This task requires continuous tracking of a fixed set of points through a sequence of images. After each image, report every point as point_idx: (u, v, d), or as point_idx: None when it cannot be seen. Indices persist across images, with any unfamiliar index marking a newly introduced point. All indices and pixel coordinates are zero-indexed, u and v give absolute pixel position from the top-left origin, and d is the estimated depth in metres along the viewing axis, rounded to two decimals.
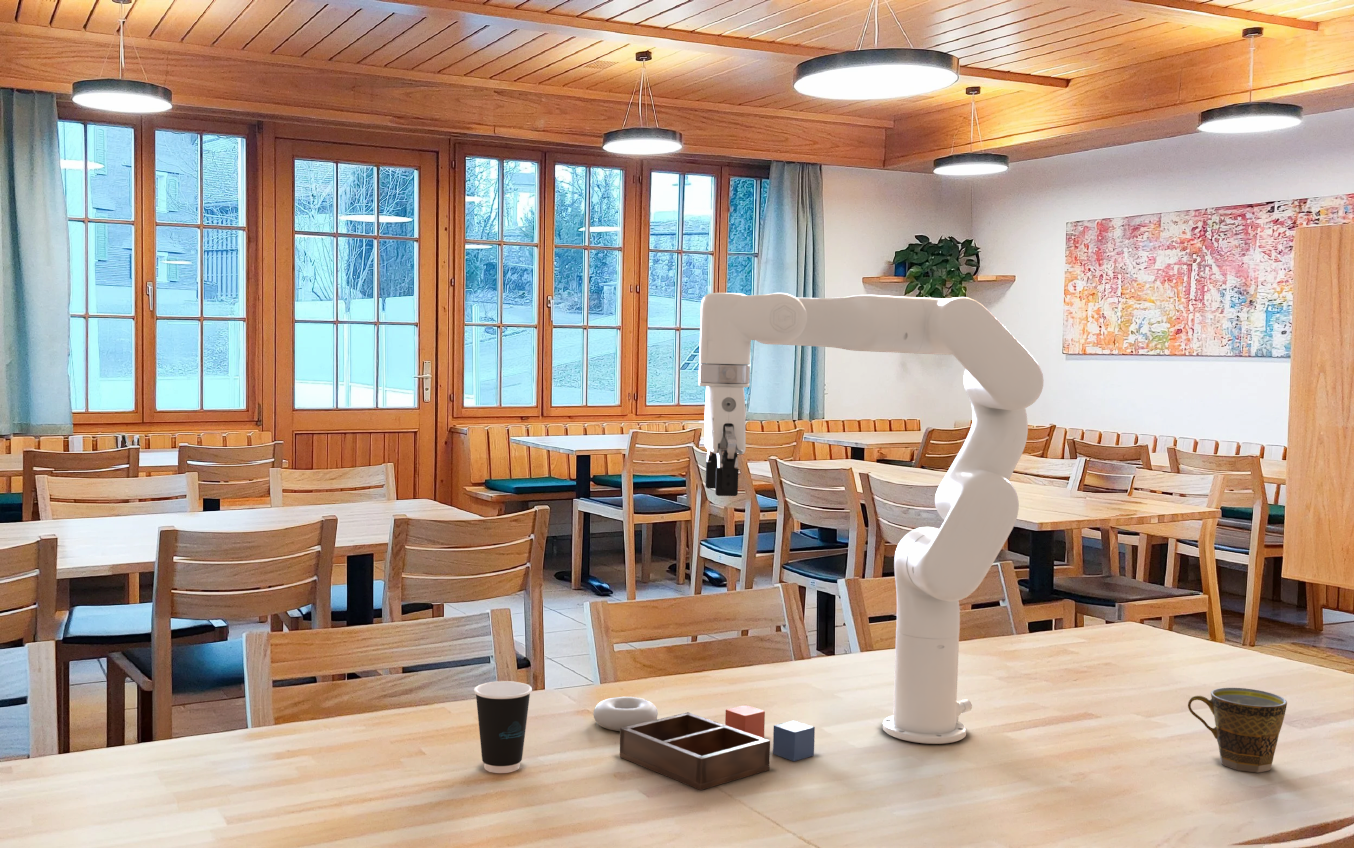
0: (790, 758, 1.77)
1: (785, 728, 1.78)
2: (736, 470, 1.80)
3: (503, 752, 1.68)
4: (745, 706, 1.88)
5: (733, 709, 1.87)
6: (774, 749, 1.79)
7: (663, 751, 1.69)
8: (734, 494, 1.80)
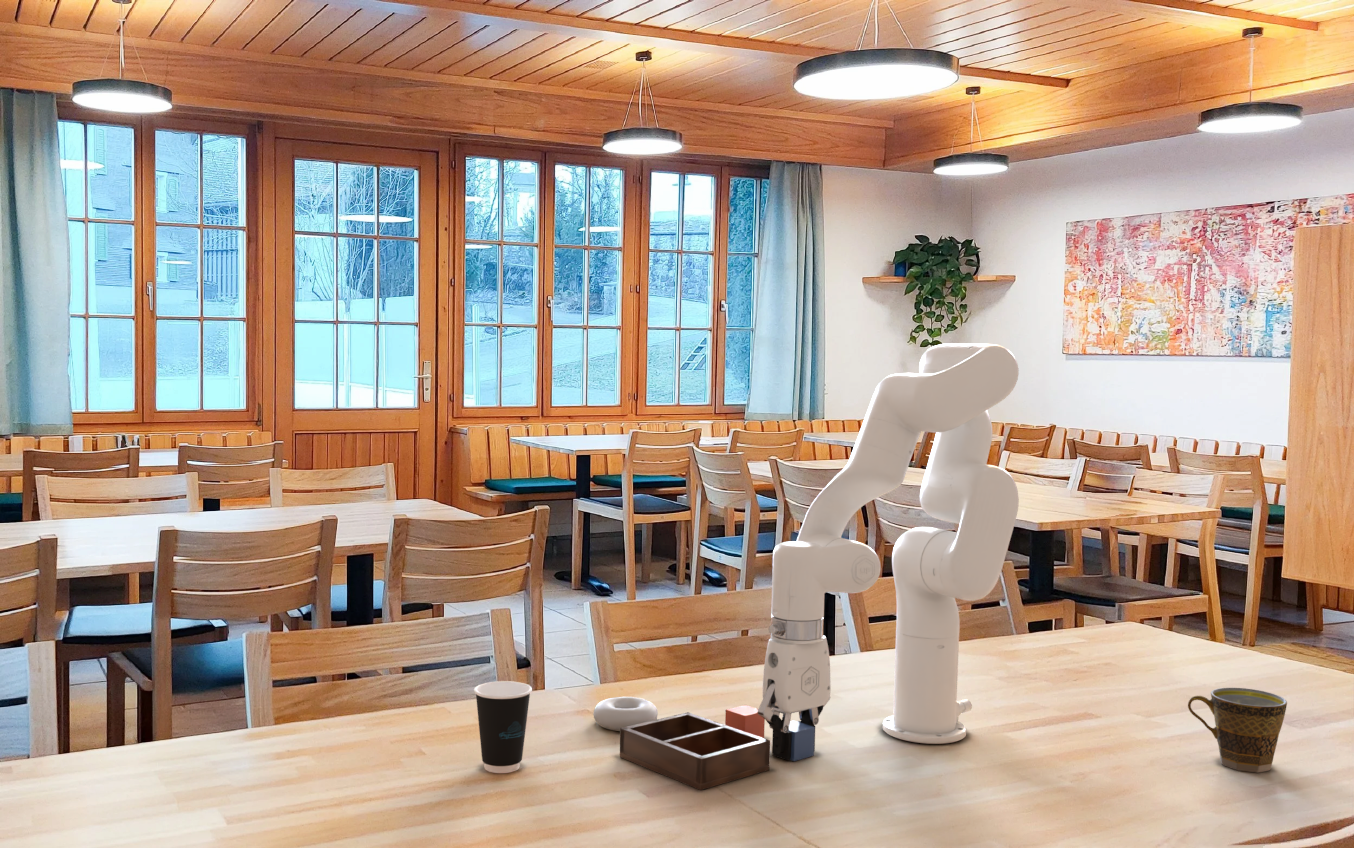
0: (790, 758, 1.77)
1: None
2: (787, 734, 1.76)
3: (503, 752, 1.68)
4: (745, 706, 1.88)
5: (733, 709, 1.87)
6: None
7: (663, 751, 1.69)
8: (786, 758, 1.77)
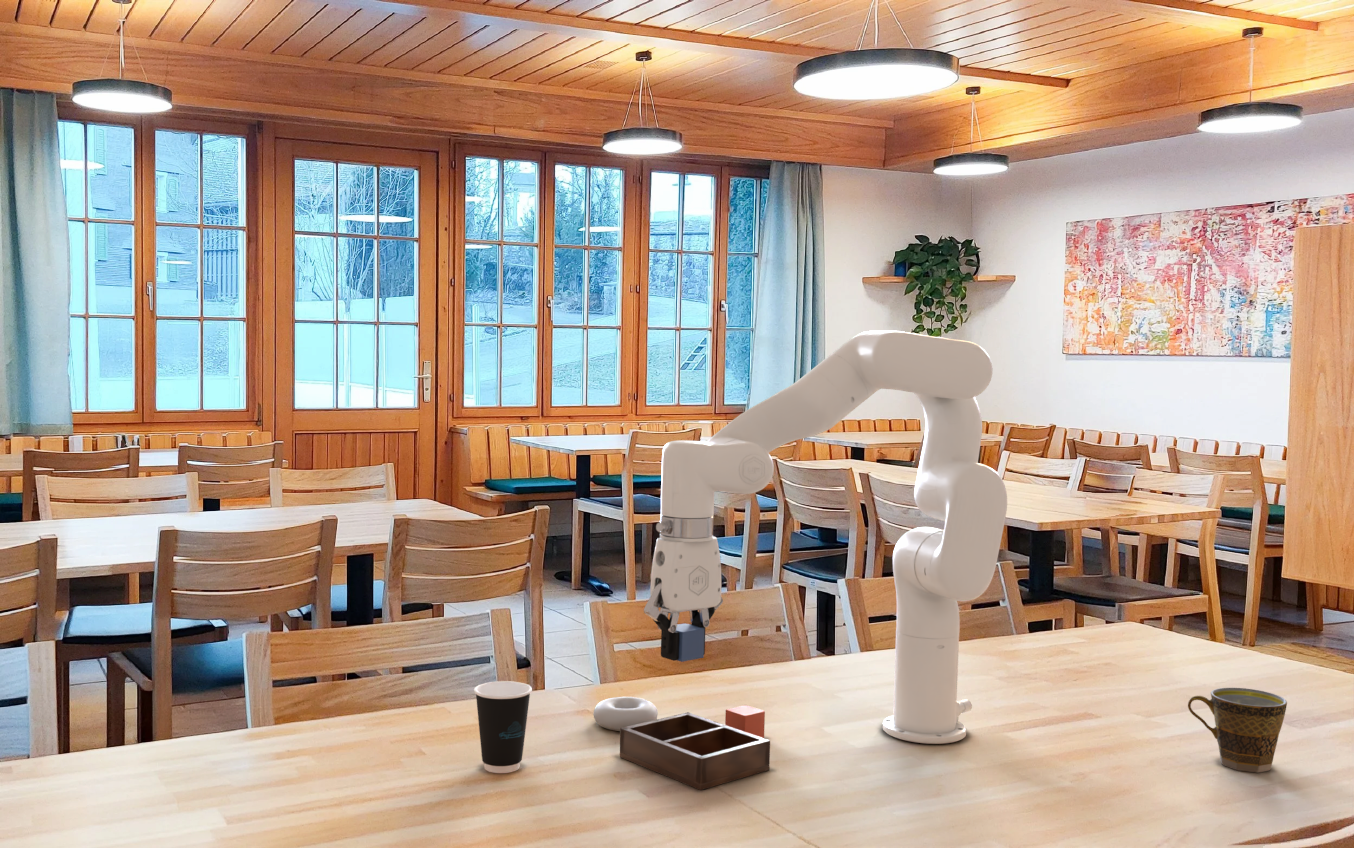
0: (678, 659, 1.74)
1: None
2: (675, 634, 1.74)
3: (503, 752, 1.68)
4: (745, 706, 1.88)
5: (733, 709, 1.87)
6: None
7: (663, 751, 1.69)
8: (673, 658, 1.74)
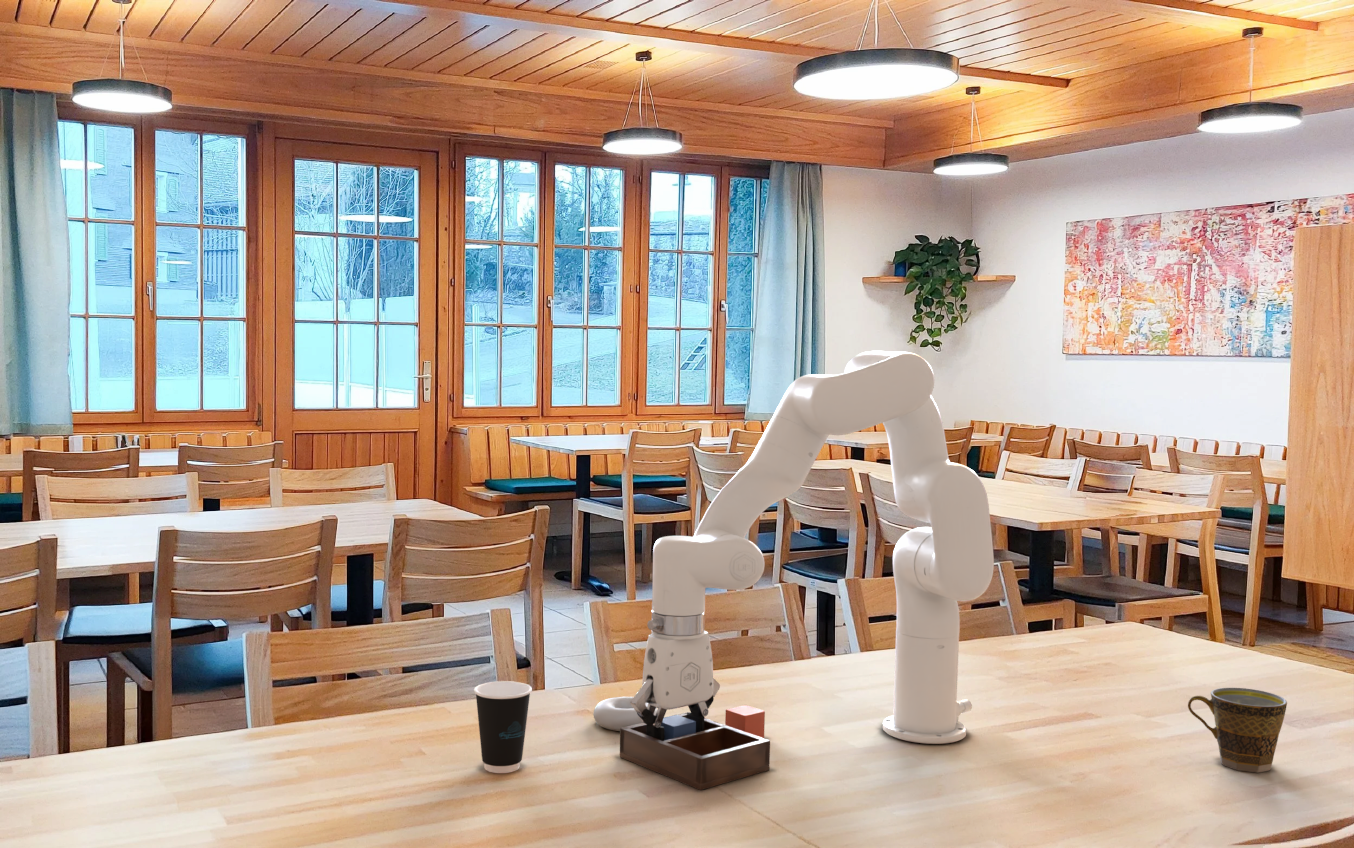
0: None
1: (665, 723, 1.76)
2: (660, 729, 1.73)
3: (503, 752, 1.68)
4: (745, 706, 1.88)
5: (733, 709, 1.87)
6: None
7: (663, 751, 1.69)
8: None
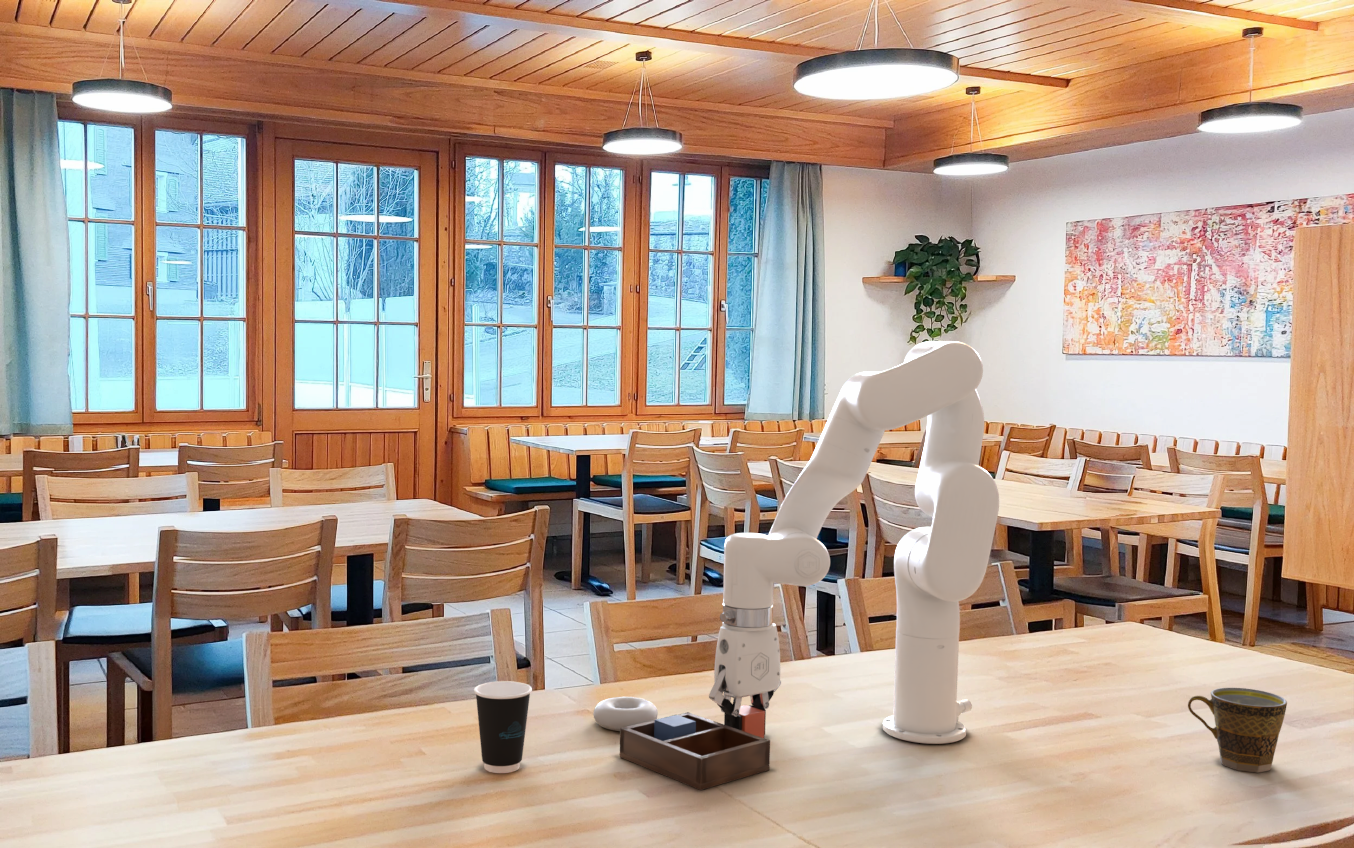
0: None
1: (665, 723, 1.76)
2: (738, 717, 1.84)
3: (503, 752, 1.68)
4: (745, 706, 1.88)
5: None
6: None
7: (663, 751, 1.69)
8: None
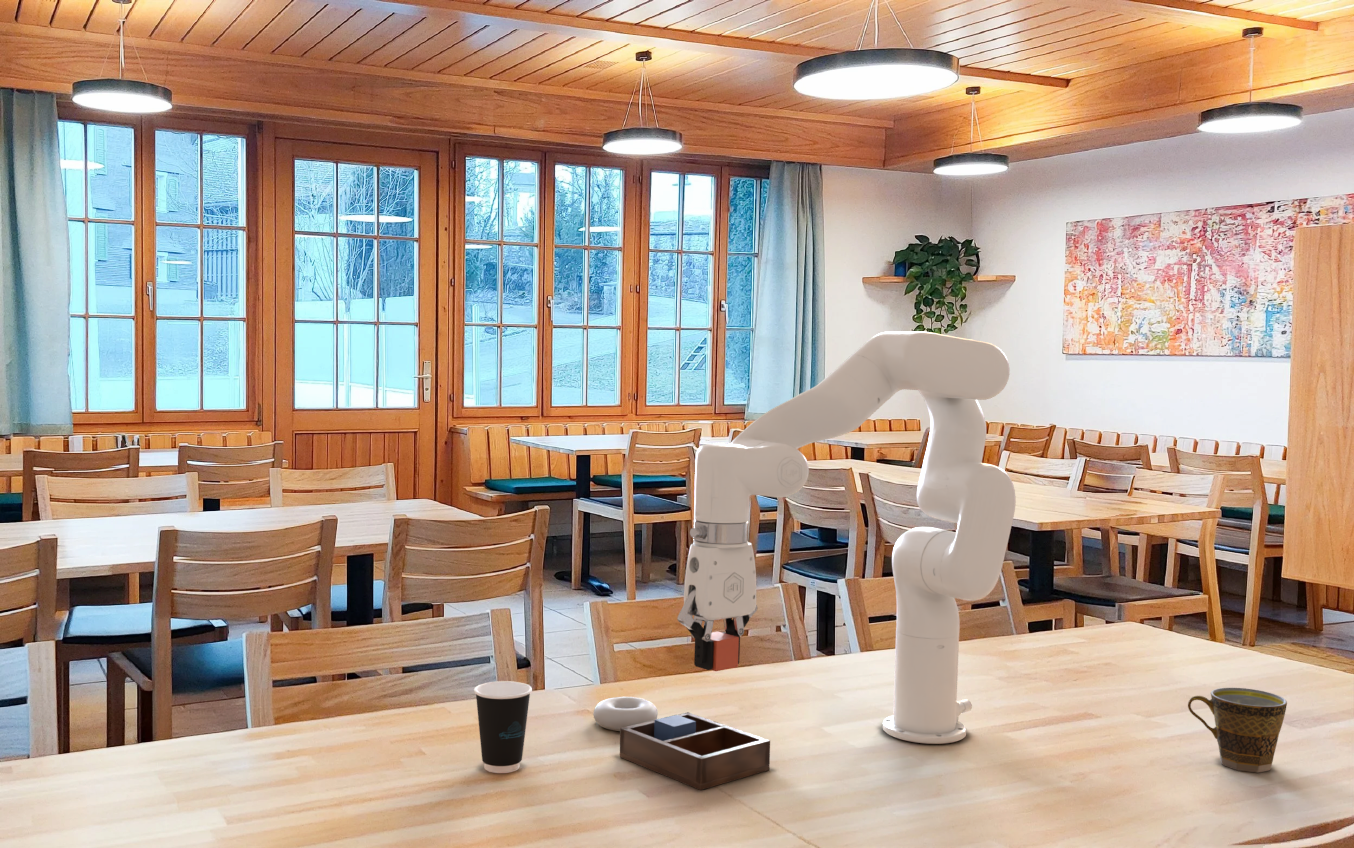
0: None
1: (665, 723, 1.76)
2: (709, 643, 1.69)
3: (503, 752, 1.68)
4: (718, 632, 1.73)
5: None
6: None
7: (663, 751, 1.69)
8: (707, 668, 1.69)
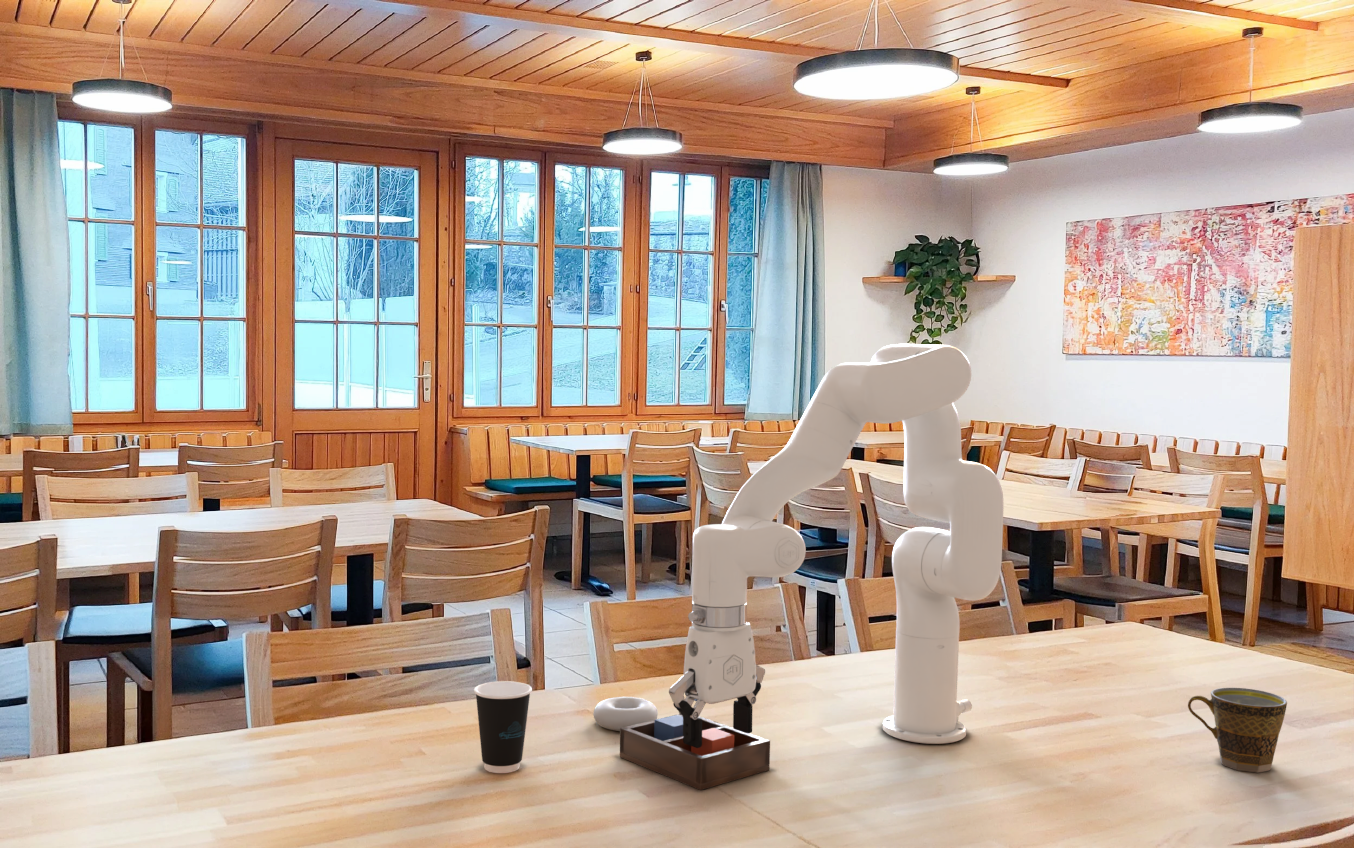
0: None
1: (665, 723, 1.76)
2: (697, 721, 1.67)
3: (503, 752, 1.68)
4: (713, 729, 1.73)
5: None
6: None
7: (663, 751, 1.69)
8: (696, 746, 1.67)
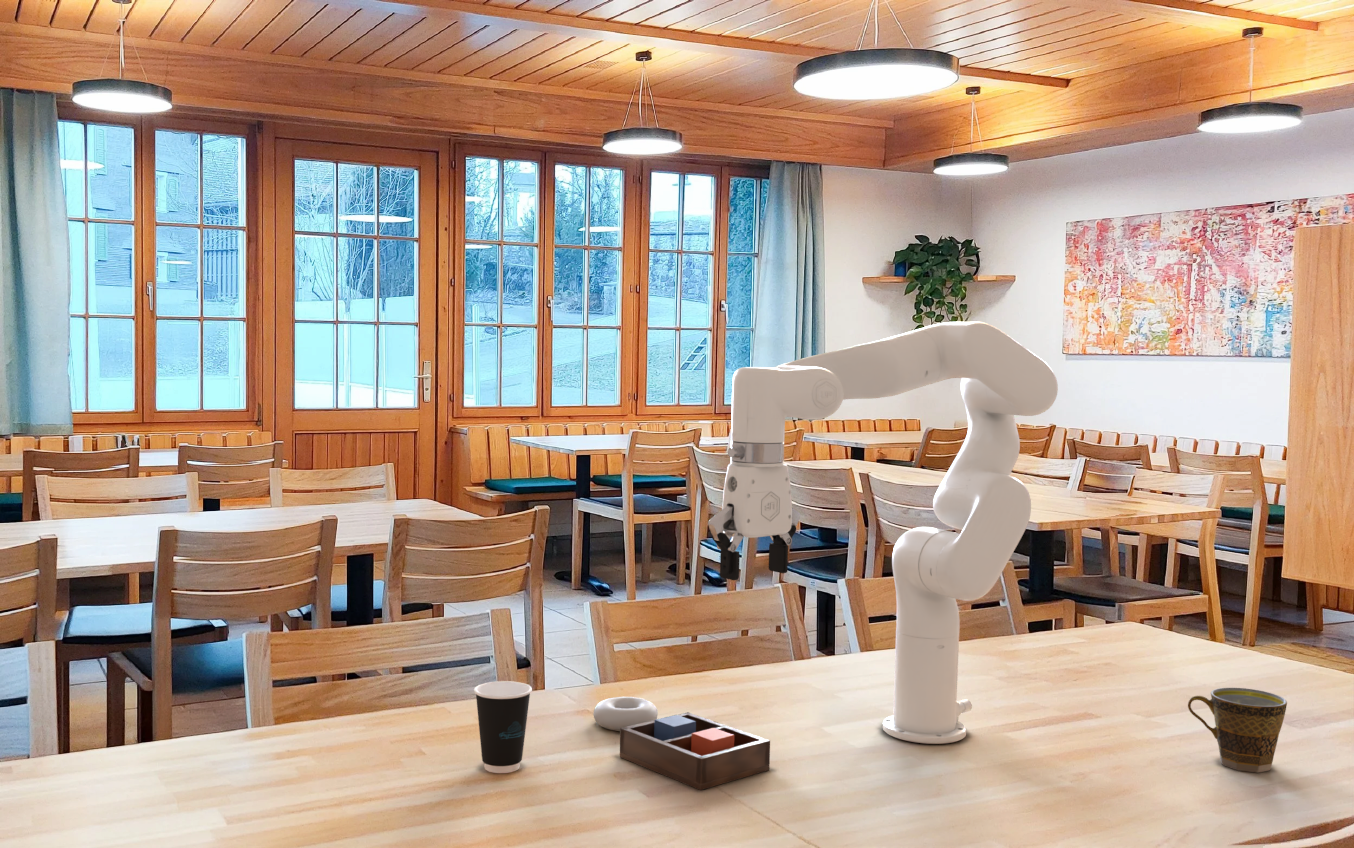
0: None
1: (665, 723, 1.76)
2: (735, 553, 1.71)
3: (503, 752, 1.68)
4: (713, 729, 1.73)
5: (700, 733, 1.71)
6: None
7: (663, 751, 1.69)
8: (733, 578, 1.72)
